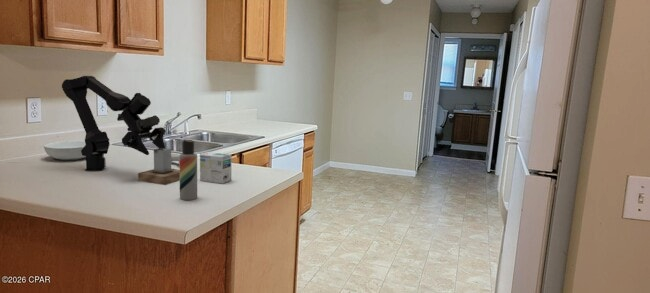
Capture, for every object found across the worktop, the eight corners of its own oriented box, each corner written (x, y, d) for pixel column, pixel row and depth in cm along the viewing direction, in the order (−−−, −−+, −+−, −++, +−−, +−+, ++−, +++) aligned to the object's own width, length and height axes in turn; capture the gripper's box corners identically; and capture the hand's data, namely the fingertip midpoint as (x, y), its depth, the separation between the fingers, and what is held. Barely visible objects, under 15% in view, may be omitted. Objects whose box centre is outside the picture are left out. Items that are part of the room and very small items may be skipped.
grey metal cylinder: (163, 151, 211) (193, 151, 195) (165, 165, 212) (194, 166, 195) (153, 152, 207) (183, 152, 191) (154, 166, 208) (184, 168, 191)
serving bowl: (49, 155, 209) (48, 140, 208) (98, 153, 217) (98, 140, 216) (39, 163, 190) (38, 148, 189) (94, 162, 198) (93, 147, 197)
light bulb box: (232, 180, 176) (232, 154, 174) (222, 184, 170) (223, 156, 168) (209, 177, 179) (209, 151, 177) (199, 180, 173) (199, 153, 171)
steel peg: (154, 179, 171) (153, 149, 169) (162, 177, 175) (161, 148, 173) (163, 181, 170) (163, 150, 168) (171, 178, 174) (171, 149, 172)
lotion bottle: (182, 195, 151) (181, 138, 148) (198, 196, 152) (198, 138, 149) (177, 200, 146) (177, 140, 143) (195, 200, 146) (195, 141, 143)
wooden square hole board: (138, 180, 169) (138, 173, 168) (161, 174, 180) (161, 167, 180) (164, 184, 165) (164, 176, 164) (186, 178, 176) (186, 170, 176)
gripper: (126, 110, 162) (151, 142, 160) (162, 107, 179) (184, 136, 177) (111, 129, 166) (134, 161, 164) (146, 125, 183) (168, 153, 181)
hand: (156, 152), depth 172 cm, fingers open, 9 cm apart
